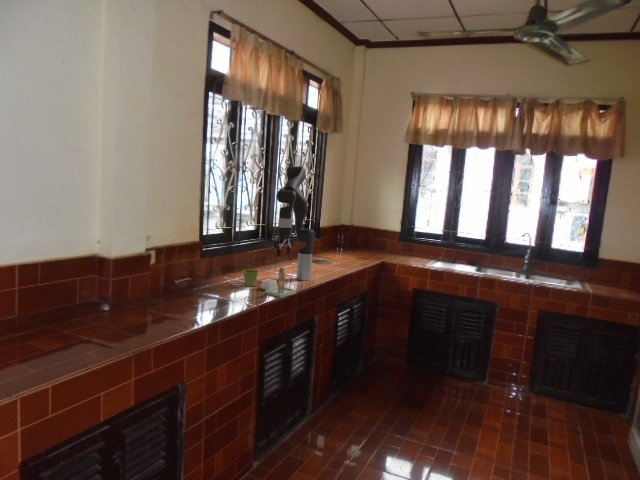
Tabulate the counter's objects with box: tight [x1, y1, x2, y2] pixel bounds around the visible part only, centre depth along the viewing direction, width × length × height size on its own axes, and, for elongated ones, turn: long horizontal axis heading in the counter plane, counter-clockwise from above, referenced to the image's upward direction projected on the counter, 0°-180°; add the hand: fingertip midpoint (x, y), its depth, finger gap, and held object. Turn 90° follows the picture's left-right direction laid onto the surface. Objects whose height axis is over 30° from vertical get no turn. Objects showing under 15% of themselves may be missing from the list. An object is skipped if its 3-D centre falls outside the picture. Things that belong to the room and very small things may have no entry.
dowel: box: [277, 266, 286, 293], centre depth 261 cm, size 3×3×14 cm
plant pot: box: [242, 269, 259, 287], centre depth 276 cm, size 9×9×9 cm
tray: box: [264, 286, 298, 299], centre depth 262 cm, size 15×11×2 cm
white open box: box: [261, 278, 278, 291], centre depth 270 cm, size 6×6×5 cm
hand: (283, 255), depth 259 cm, fingers open, 8 cm apart
